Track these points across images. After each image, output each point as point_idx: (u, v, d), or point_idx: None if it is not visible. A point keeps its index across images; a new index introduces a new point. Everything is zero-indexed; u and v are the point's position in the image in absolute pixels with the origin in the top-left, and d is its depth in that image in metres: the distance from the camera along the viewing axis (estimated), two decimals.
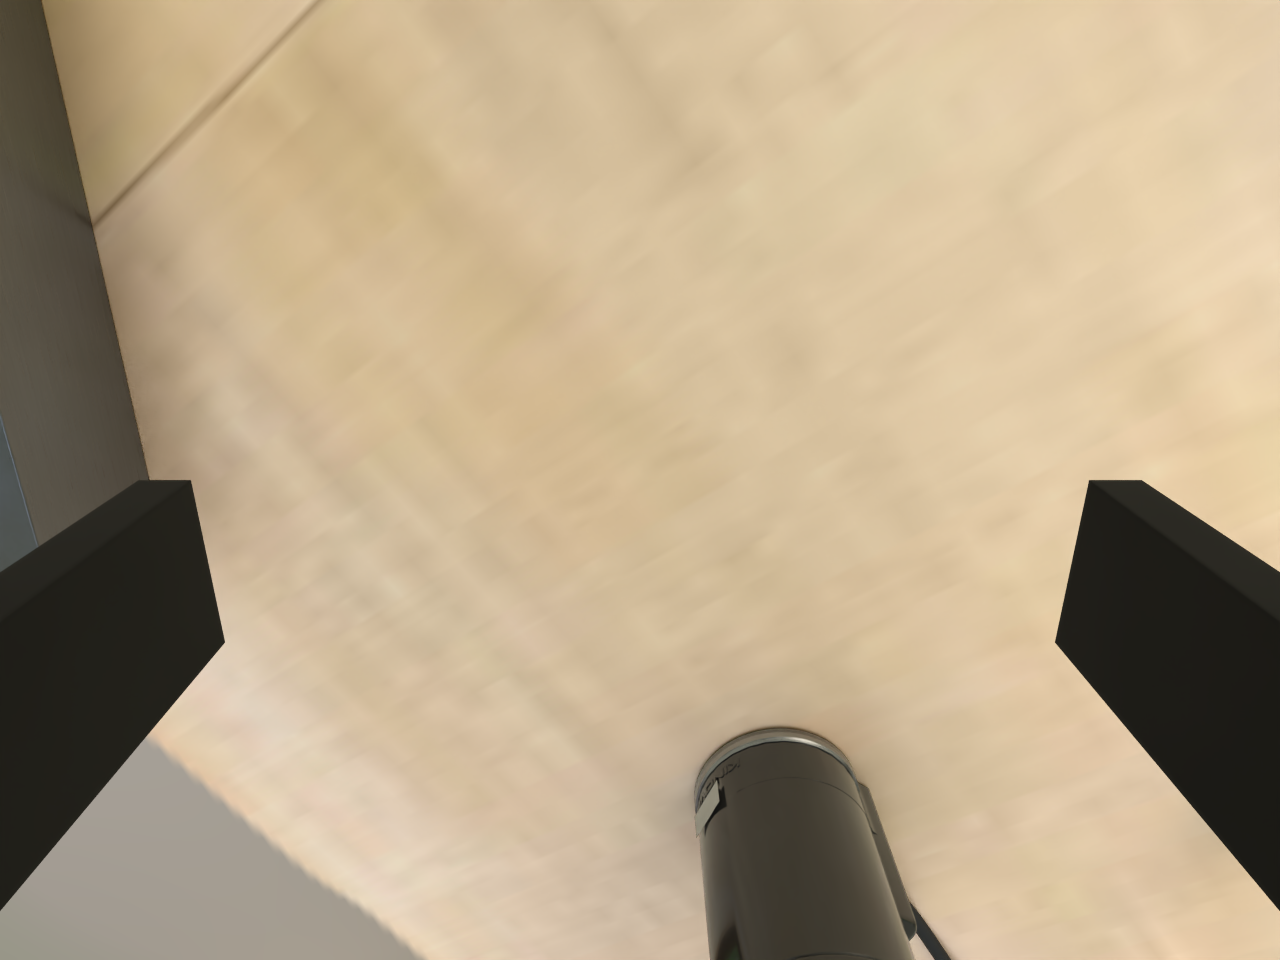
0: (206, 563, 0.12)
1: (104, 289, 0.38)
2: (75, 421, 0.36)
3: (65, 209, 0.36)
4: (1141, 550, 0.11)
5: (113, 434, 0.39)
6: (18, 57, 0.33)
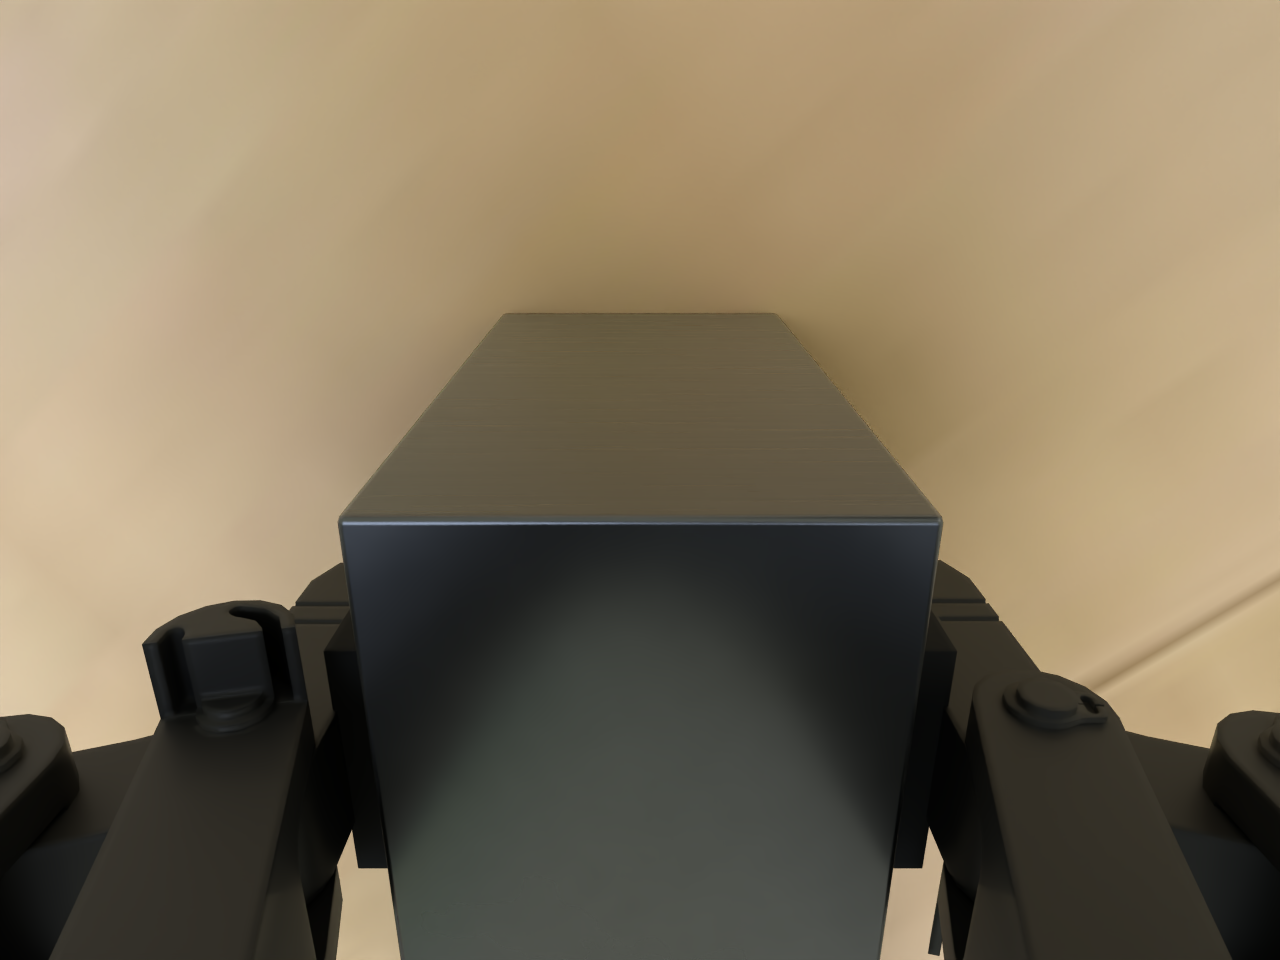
0: None
1: None
2: None
3: None
4: None
5: None
6: None
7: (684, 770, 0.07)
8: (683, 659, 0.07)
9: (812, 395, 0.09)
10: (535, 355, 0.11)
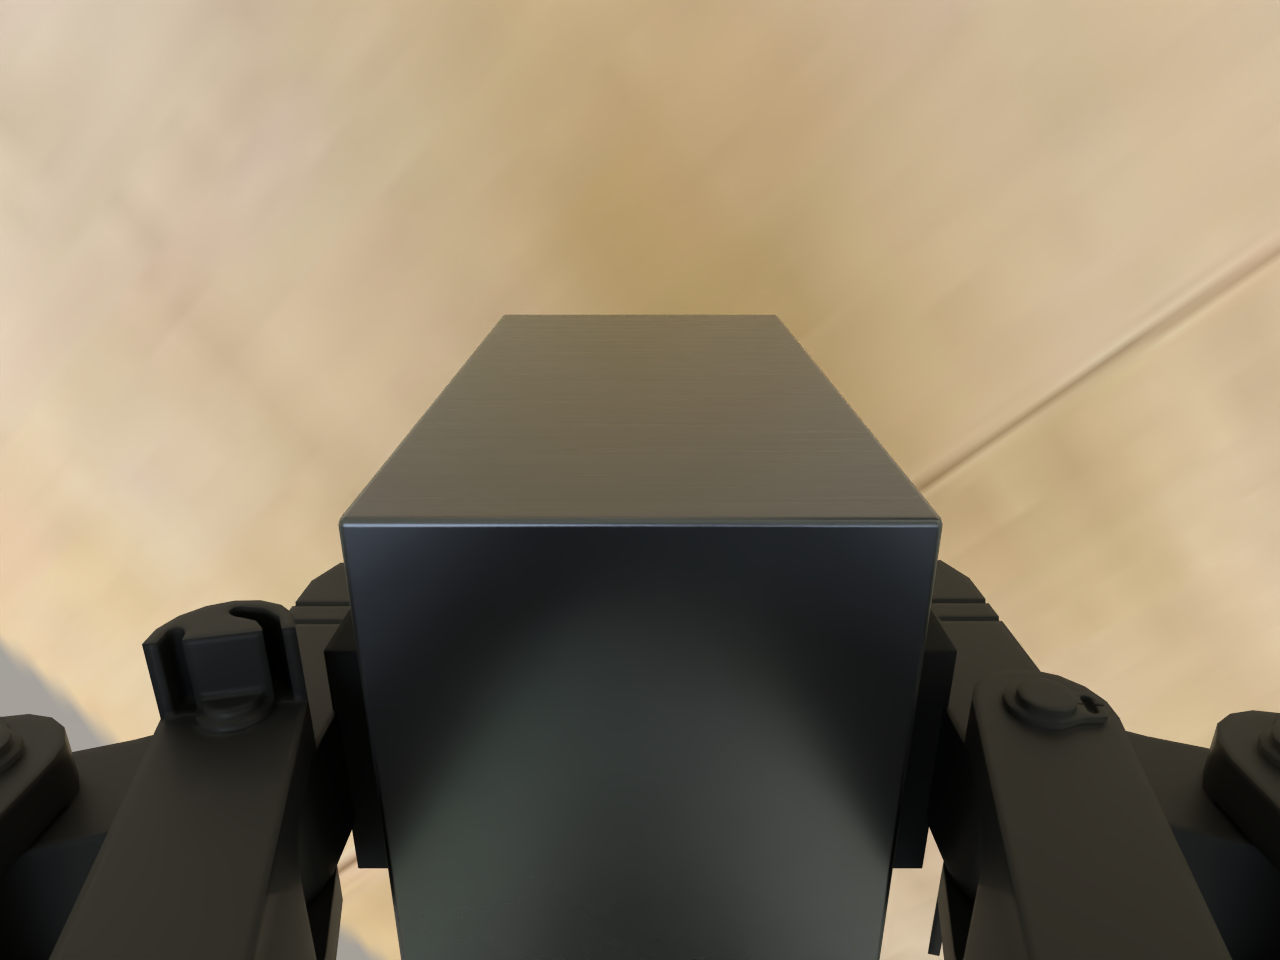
0: None
1: None
2: None
3: None
4: None
5: None
6: None
7: (682, 770, 0.07)
8: (682, 660, 0.07)
9: (812, 397, 0.09)
10: (535, 356, 0.11)
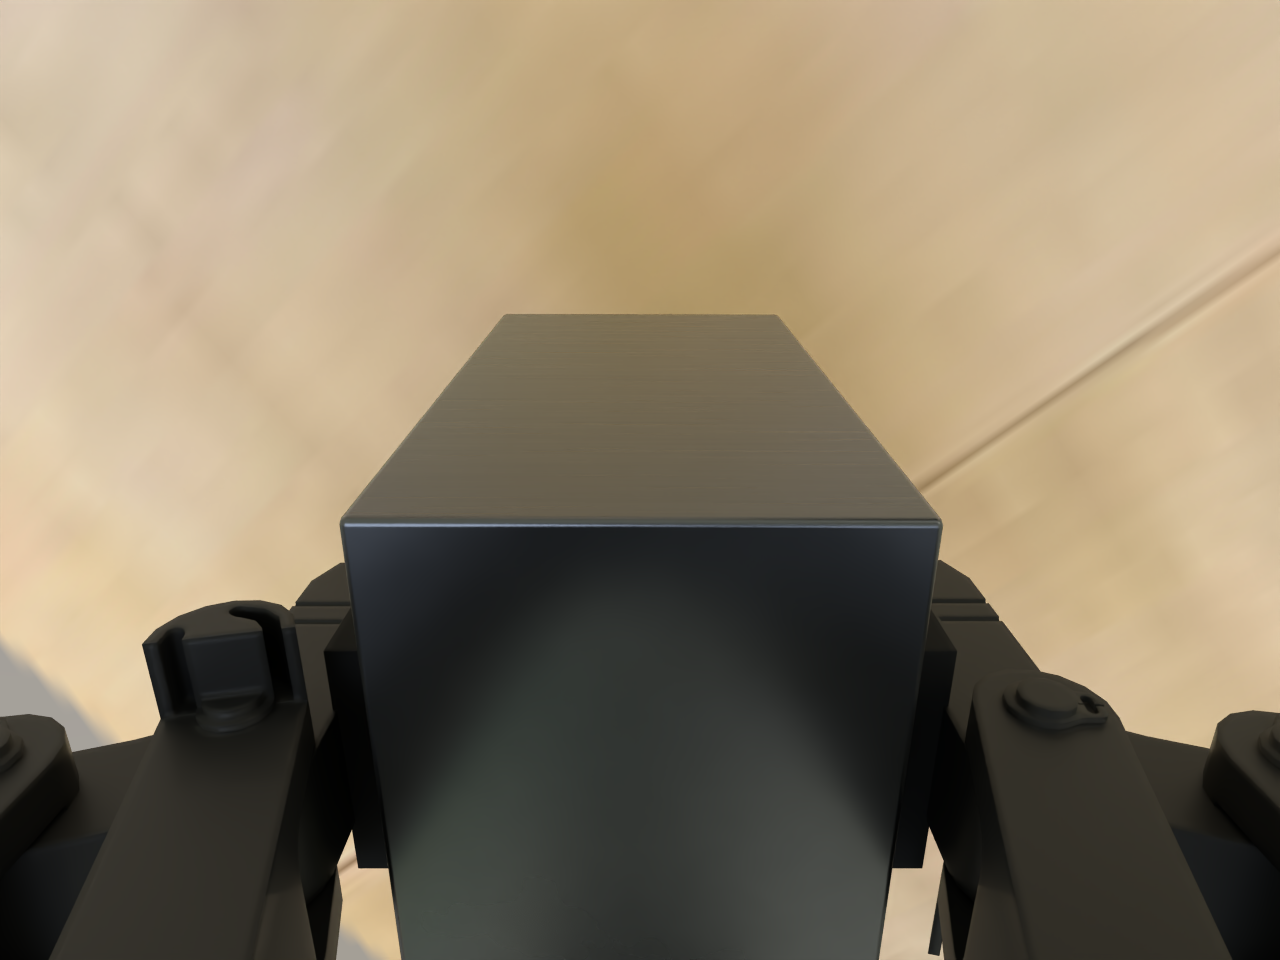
0: None
1: None
2: None
3: None
4: None
5: None
6: None
7: (684, 770, 0.07)
8: (684, 660, 0.07)
9: (813, 397, 0.09)
10: (536, 356, 0.11)
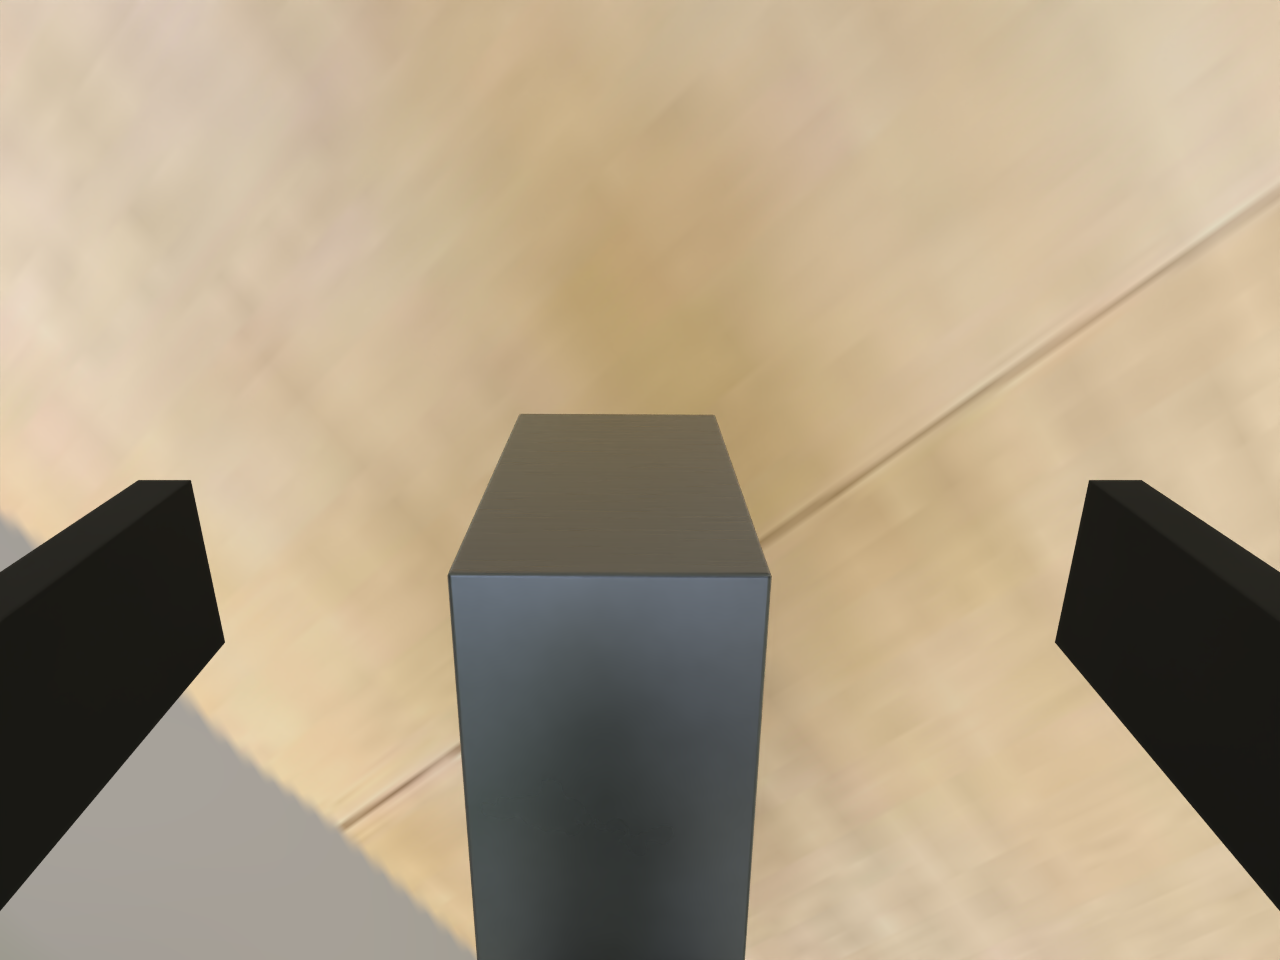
0: (206, 563, 0.12)
1: None
2: None
3: None
4: (1141, 550, 0.11)
5: None
6: None
7: (634, 714, 0.12)
8: (633, 650, 0.12)
9: (721, 490, 0.15)
10: (545, 455, 0.17)
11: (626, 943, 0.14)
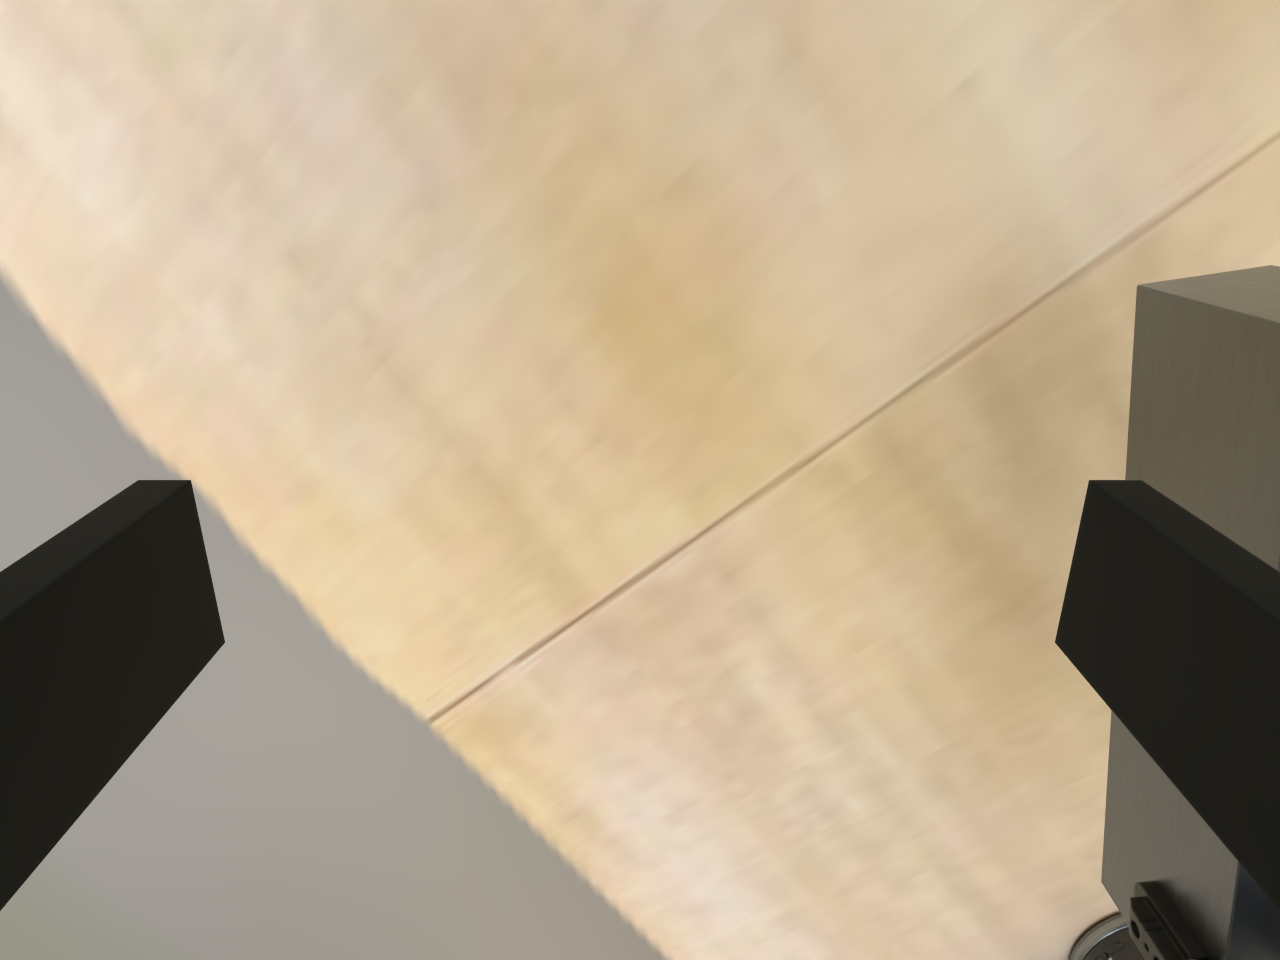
0: (206, 563, 0.12)
1: None
2: None
3: None
4: (1141, 550, 0.11)
5: None
6: None
7: None
8: None
9: None
10: (1218, 294, 0.26)
11: None
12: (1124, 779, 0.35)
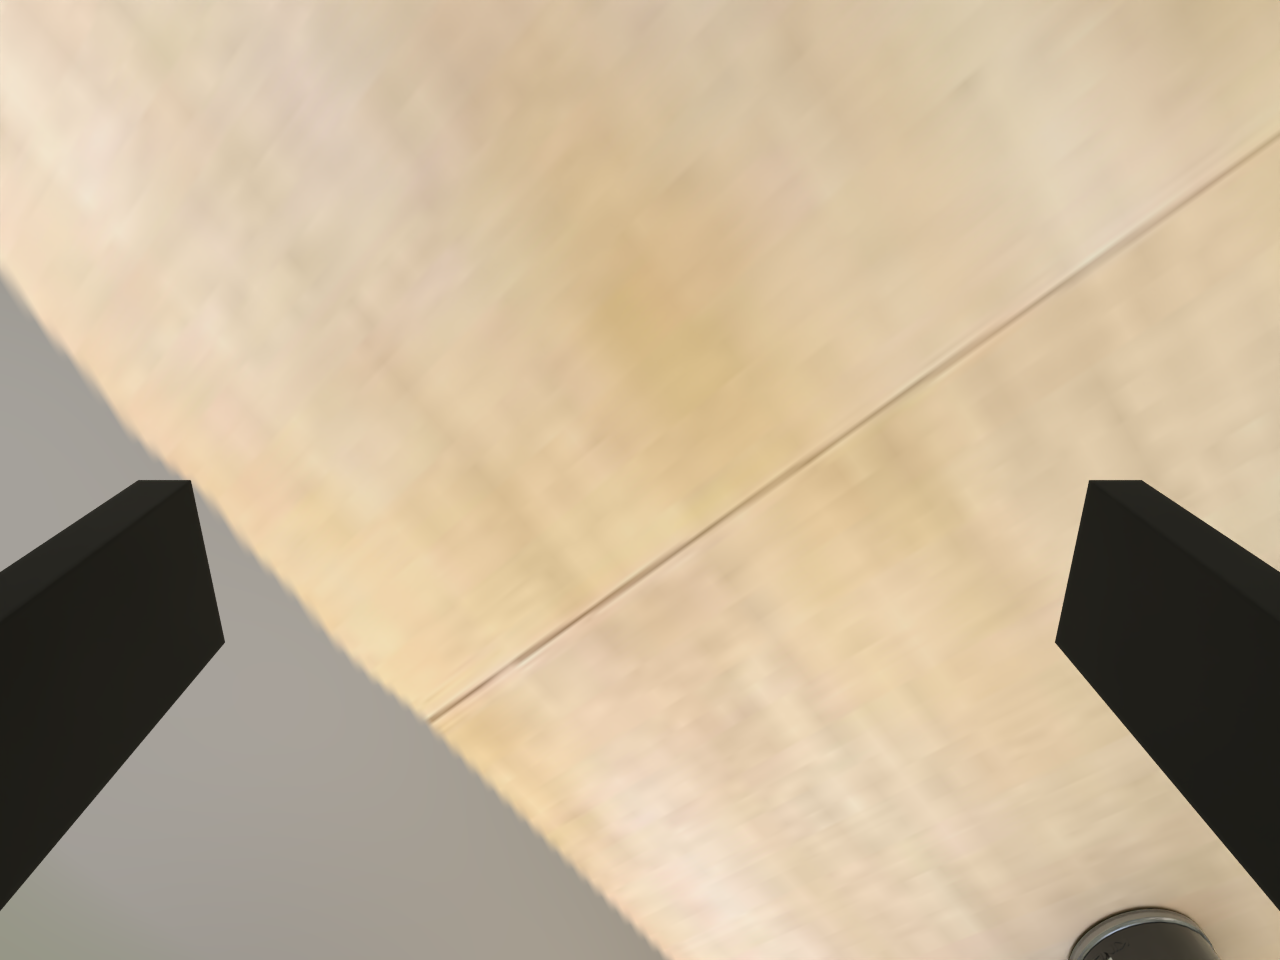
0: (206, 563, 0.12)
1: None
2: None
3: None
4: (1141, 550, 0.11)
5: None
6: None
7: None
8: None
9: None
10: None
11: None
12: None
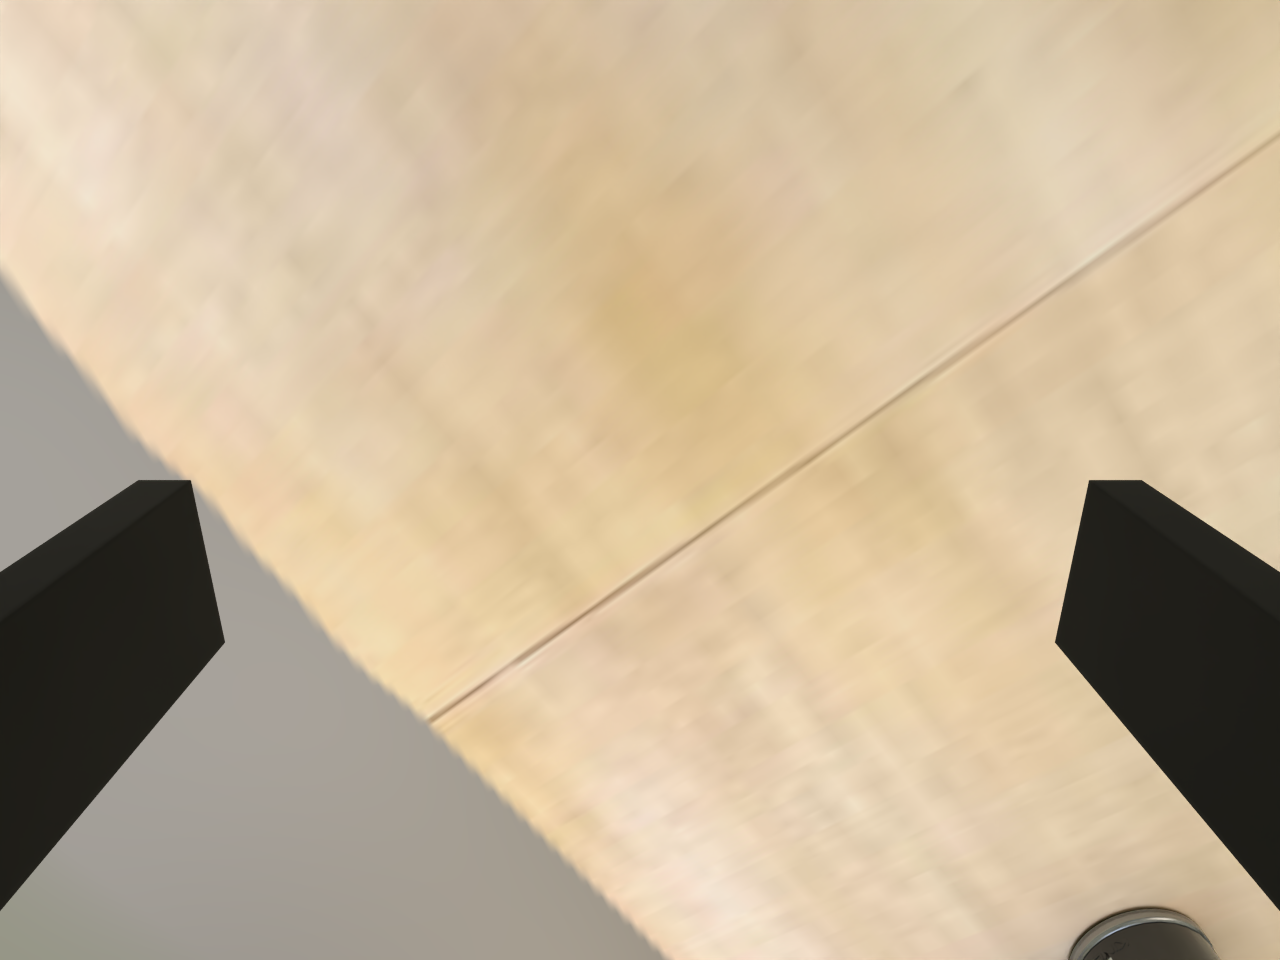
0: (206, 563, 0.12)
1: None
2: None
3: None
4: (1141, 550, 0.11)
5: None
6: None
7: None
8: None
9: None
10: None
11: None
12: None
